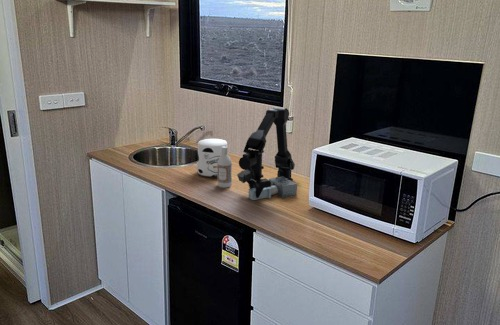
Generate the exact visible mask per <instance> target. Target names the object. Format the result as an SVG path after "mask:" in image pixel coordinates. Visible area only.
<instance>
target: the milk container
mask: <svg viewBox="0 0 500 325" xmlns="http://www.w3.org/2000/svg"><path fill="white" fill-rule="evenodd" d="M222 146H226V147H227V148H228V142H227V140H225V139H221V138H205V139H201V140H199V141H198V142H197V162H196V171H197V173H198V175H200V176H202V177H206V178H218V170H217V163H218V159H219V157H220V156H221V154H222V151H221V147H222Z"/></svg>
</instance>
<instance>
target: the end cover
mask: <svg viewBox="0 0 500 325" xmlns="http://www.w3.org/2000/svg"><path fill="white" fill-rule="evenodd" d="M278 193H279V186H277V185H273V186H271V187H266V188H264V189H263V190H262V192H261V194H260V196H259V198H256V192H255V188H251V189H250V188H248V198H249V199H250V200H252V201H257V200H261V199H265V198H268V199H271V198H272V196H273V195H278Z"/></svg>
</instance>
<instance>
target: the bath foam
mask: <svg viewBox="0 0 500 325" xmlns="http://www.w3.org/2000/svg"><path fill="white" fill-rule="evenodd" d="M221 151H222V154H221V156H220V157H219V159H218V163H217V170H218V177H217V186H218V188H222V189H224V188H226V189H227V188H230V187H231V186H232V184H233V183H232V181H233V180H232V177H233V176H232V168H233V167H232V165H233V164H232V159H231V157H230V155H229V153H228V146H227V147H226V146H222V147H221Z"/></svg>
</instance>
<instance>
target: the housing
mask: <svg viewBox="0 0 500 325" xmlns="http://www.w3.org/2000/svg"><path fill="white" fill-rule="evenodd" d="M268 180H269V181H271V186H273V185H277V186H279V193H278V194H277V195H278V197H279V198H280V199H286V198H287V199H288V198H292V197H297V193H298V192H297V191H298V183H296V182H295V181H293V180H289V179H287V178H285V177H283V176H282V177H277V176H276V177H272V178H269V179H268Z"/></svg>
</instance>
